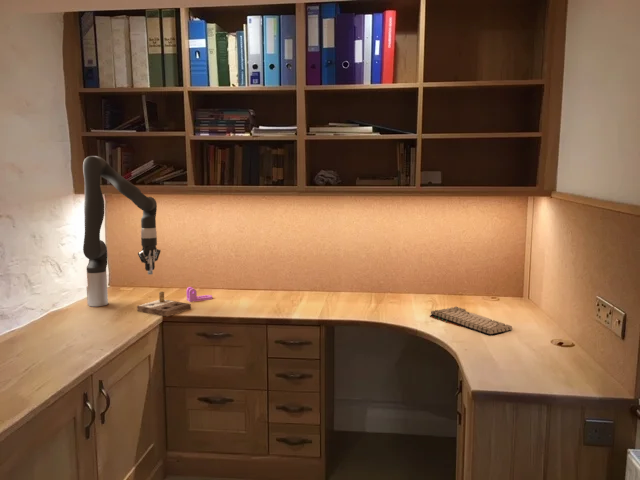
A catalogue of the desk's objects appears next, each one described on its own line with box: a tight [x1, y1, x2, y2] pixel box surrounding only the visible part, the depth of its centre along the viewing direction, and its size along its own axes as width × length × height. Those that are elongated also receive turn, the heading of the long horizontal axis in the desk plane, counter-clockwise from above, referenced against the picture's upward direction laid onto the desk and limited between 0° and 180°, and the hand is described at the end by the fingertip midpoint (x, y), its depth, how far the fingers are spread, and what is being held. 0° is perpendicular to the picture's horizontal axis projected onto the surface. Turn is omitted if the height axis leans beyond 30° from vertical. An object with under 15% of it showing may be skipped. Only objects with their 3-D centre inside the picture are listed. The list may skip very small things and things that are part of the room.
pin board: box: [136, 291, 192, 317], centre depth 264 cm, size 20×16×8 cm
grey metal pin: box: [147, 256, 154, 275], centre depth 273 cm, size 2×2×9 cm
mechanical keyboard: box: [429, 306, 514, 337], centre depth 244 cm, size 38×19×3 cm, turn 32°
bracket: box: [186, 286, 213, 303], centre depth 285 cm, size 13×6×7 cm, turn 120°
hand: (150, 270), depth 273 cm, fingers closed on grey metal pin, 2 cm apart
